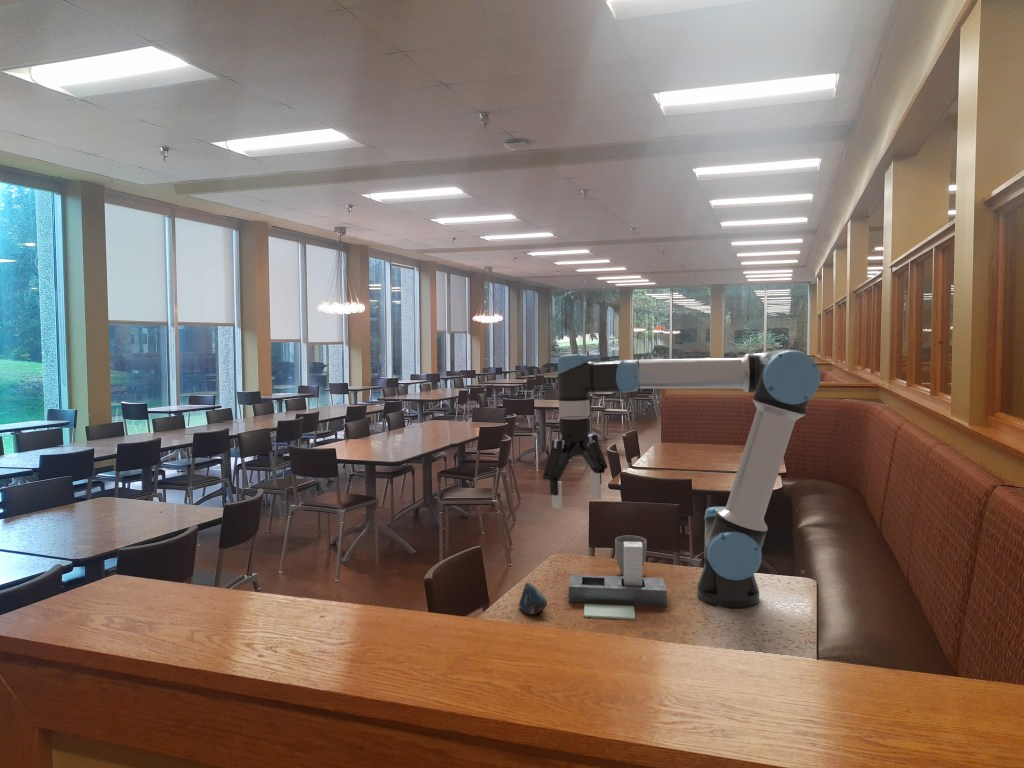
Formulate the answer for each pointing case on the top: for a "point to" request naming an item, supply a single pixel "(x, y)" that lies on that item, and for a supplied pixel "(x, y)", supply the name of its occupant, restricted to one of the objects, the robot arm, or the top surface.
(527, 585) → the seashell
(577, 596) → the grey hollow block
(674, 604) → the top surface
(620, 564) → the mug
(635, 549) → the steel peg
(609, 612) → the green pad
